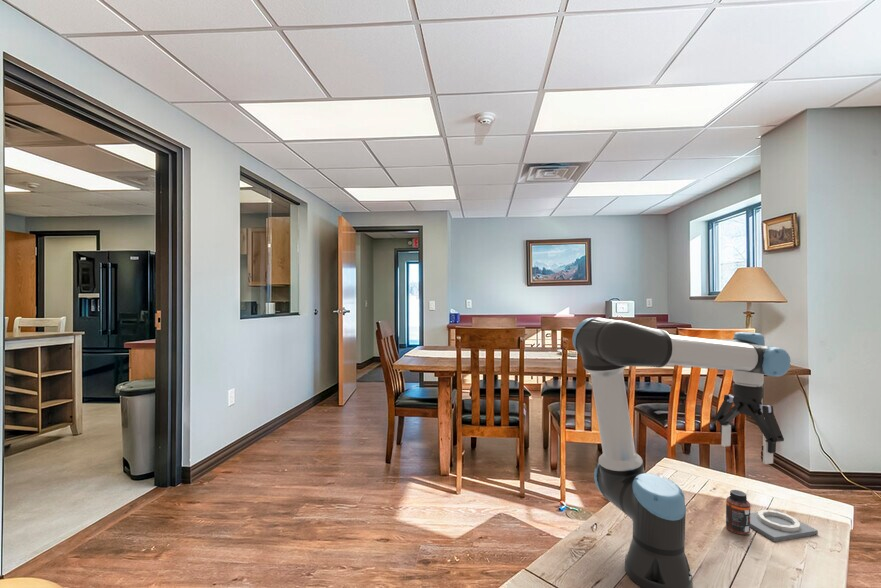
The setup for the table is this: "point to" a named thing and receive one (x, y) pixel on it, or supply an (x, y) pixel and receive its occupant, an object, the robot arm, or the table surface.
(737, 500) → the supplement bottle
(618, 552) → the table surface
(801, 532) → the hub board
